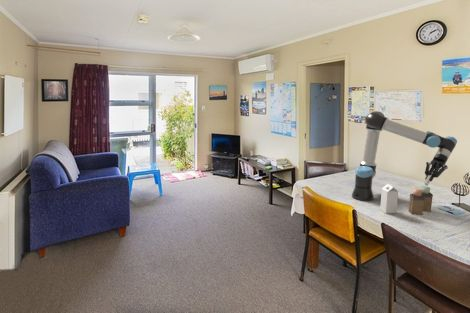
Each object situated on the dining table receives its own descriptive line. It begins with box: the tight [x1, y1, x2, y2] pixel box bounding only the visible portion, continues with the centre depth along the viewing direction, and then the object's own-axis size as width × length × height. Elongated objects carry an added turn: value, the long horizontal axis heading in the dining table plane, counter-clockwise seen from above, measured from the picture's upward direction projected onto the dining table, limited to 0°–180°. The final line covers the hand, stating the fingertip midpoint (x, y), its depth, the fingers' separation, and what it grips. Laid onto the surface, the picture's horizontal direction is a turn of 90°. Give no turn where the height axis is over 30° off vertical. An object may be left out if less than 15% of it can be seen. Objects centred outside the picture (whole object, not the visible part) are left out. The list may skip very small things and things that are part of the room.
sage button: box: [421, 186, 431, 194], centre depth 192 cm, size 5×5×4 cm
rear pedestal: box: [422, 192, 434, 213], centre depth 194 cm, size 6×6×12 cm
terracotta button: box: [412, 188, 422, 197], centre depth 188 cm, size 5×5×4 cm
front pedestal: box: [407, 193, 425, 216], centre depth 189 cm, size 6×6×12 cm
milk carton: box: [379, 182, 399, 214], centre depth 192 cm, size 7×7×19 cm
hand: (425, 184), depth 191 cm, fingers closed
